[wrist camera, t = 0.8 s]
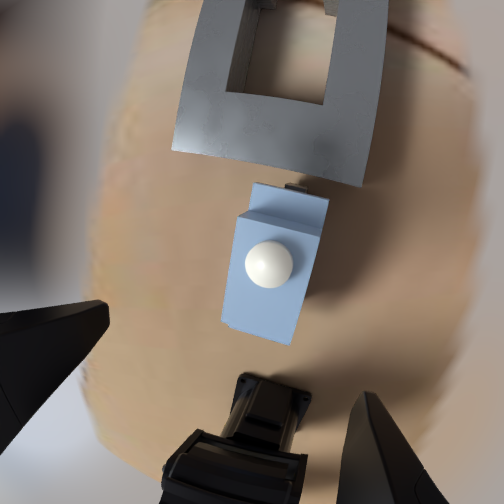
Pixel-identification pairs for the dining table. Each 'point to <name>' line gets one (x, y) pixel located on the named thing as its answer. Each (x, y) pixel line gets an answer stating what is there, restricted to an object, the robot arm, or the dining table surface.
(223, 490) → the robot arm
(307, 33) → the dining table surface
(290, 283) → the servo
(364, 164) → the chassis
